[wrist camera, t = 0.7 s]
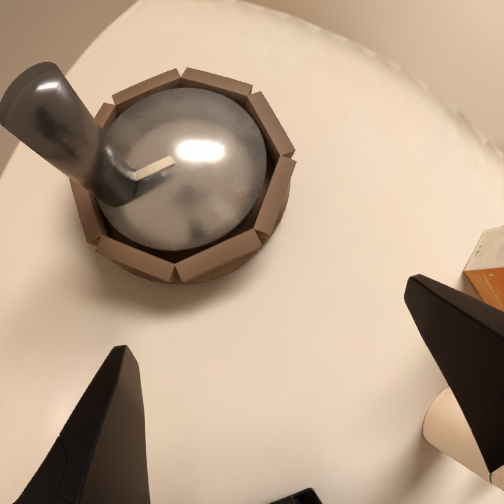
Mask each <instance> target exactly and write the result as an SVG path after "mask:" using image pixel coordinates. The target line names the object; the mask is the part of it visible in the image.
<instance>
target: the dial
mask: <svg viewBox="0 0 504 504" xmlns="http://www.w3.org/2000/svg"><path fill="white" fill-rule="evenodd" d="M0 123H1V125H2V126H3V127H5V128H6V129H7V130H8V131H9V132H11V133H12V134H13V135H15V136H16V137H17V138H18V139H19V140H21V141H22V142H23V143H25V144H26V145H27V146H28V147H30V148H31V149H32V150H33V151H35V152H36V153H37V154H39V155H40V156H41V157H43V158H44V159H45V160H46V161H48V162H49V163H50V164H52V165H53V166H54V167H56V168H57V169H58V170H60V171H61V172H62V173H64V174H65V175H66V176H68V177H69V178H70V179H72V180H73V181H74V182H76V183H77V184H78V185H80V186H81V187H83V188H84V189H85V190H87V191H88V192H89V193H91V194H92V195H94V196H95V197H96V199H97V201H98V204H99V206H100V208H101V210H102V212H103V214H104V215H105V217H106V218H107V219H108V221H109V222H110V223H111V224H112V226H113V227H115V228H116V229H117V230H118V231H119V232H120V233H121V234H123V235H124V236H126V237H127V238H129V239H131V240H133V241H135V242H137V243H139V244H141V245H143V246H145V247H147V248H150V249H153V250H157V251H162V252H168V253H182V252H191V251H195V250H200V249H203V248H206V247H208V246H211V245H213V244H215V243H217V242H219V241H221V240H223V239H224V238H226V237H227V236H228V235H230V234H231V233H233V232H234V231H235V230H236V229H237V228H238V227H239V226H240V225H241V224H242V223H243V222H244V220H245V219H246V218H247V217H248V215H249V214H250V212H251V211H252V209H253V208H254V206H255V203H256V201H257V199H258V197H259V194H260V192H261V189H262V186H263V182H264V179H265V173H266V150H265V144H264V141H263V138H262V135H261V133H260V131H259V128H258V126H257V125H256V123H255V122H254V120H253V119H252V118H251V116H250V115H249V114H248V113H247V112H246V111H245V110H244V109H243V108H242V107H241V106H239V105H238V104H237V103H235V102H234V101H232V100H231V99H229V98H227V97H225V96H223V95H221V94H218V93H215V92H212V91H209V90H204V89H198V88H176V89H169V90H165V91H161V92H158V93H155V94H152V95H150V96H148V97H145V98H143V99H141V100H140V101H138V102H136V103H135V104H133V105H132V106H130V107H129V108H128V109H127V110H125V111H124V112H123V113H122V114H121V115H120V116H119V117H118V118H117V119H116V120H115V121H114V122H113V123H112V125H111V126H110V127H109V129H108V130H107V132H106V133H104V132H103V130H102V129H101V127H100V126H99V125H98V123H97V122H96V121H95V119H94V118H93V116H92V115H91V114H90V112H89V111H88V109H87V108H86V107H85V105H84V104H83V102H82V101H81V100H80V98H79V97H78V95H77V94H76V92H75V91H74V90H73V88H72V87H71V85H70V84H69V82H68V81H67V79H66V78H65V77H64V75H63V74H62V72H61V71H60V69H59V68H58V67H57V65H56V64H54V63H52V62H42V63H39V64H36V65H34V66H32V67H30V68H28V69H27V70H25V71H24V72H23V73H22V74H20V75H19V76H18V77H17V78H16V79H15V80H14V81H13V82H12V83H11V85H10V86H9V87H8V89H7V90H6V92H5V94H4V96H3V98H2V100H1V102H0Z"/></svg>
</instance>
